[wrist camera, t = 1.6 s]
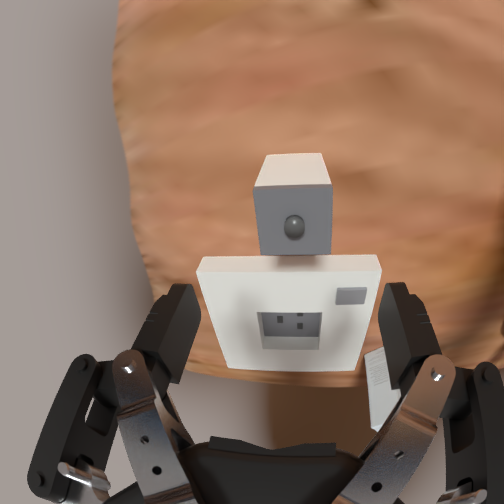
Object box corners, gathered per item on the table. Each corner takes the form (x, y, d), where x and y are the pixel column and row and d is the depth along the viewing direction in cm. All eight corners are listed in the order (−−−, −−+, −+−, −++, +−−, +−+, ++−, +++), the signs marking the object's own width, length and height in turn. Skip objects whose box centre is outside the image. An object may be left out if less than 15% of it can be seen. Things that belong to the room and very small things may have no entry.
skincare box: (401, 359, 35) (411, 427, 25) (377, 369, 37) (383, 436, 27) (388, 342, 33) (401, 419, 23) (362, 353, 35) (369, 428, 25)
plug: (320, 153, 21) (334, 191, 14) (321, 201, 23) (331, 259, 16) (266, 155, 22) (251, 194, 15) (271, 203, 24) (259, 260, 17)
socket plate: (376, 254, 25) (382, 273, 23) (352, 355, 35) (354, 372, 33) (203, 256, 29) (194, 274, 26) (231, 353, 39) (227, 370, 36)
